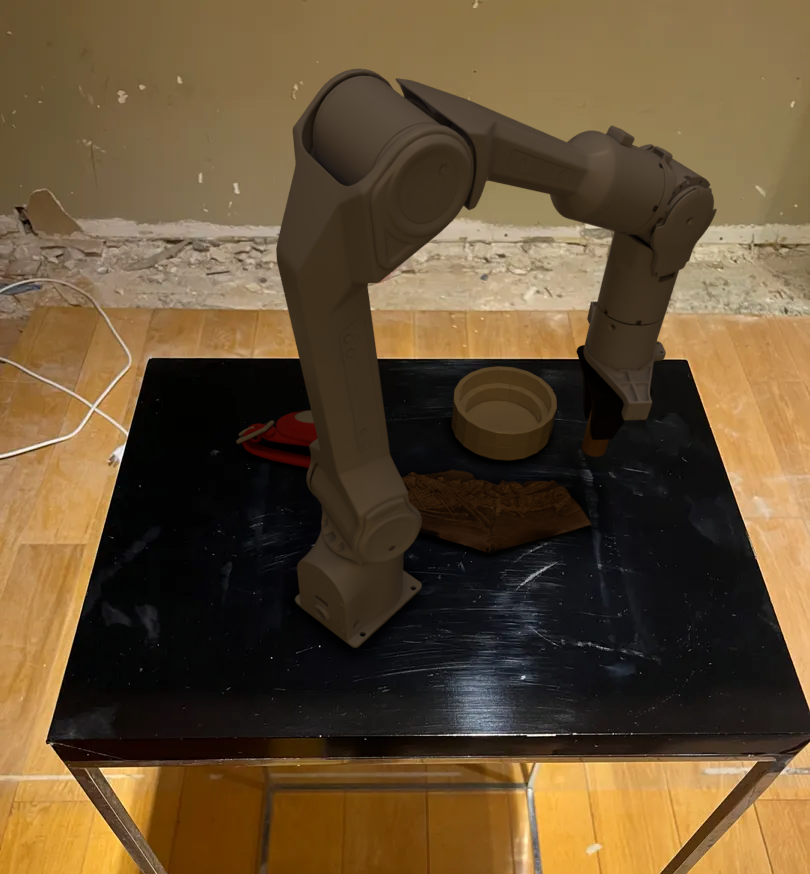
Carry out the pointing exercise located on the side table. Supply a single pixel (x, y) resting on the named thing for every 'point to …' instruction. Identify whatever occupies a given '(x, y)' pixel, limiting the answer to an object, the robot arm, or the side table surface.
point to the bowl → (503, 413)
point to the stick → (593, 443)
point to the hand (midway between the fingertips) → (598, 427)
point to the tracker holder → (282, 437)
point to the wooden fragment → (491, 509)
